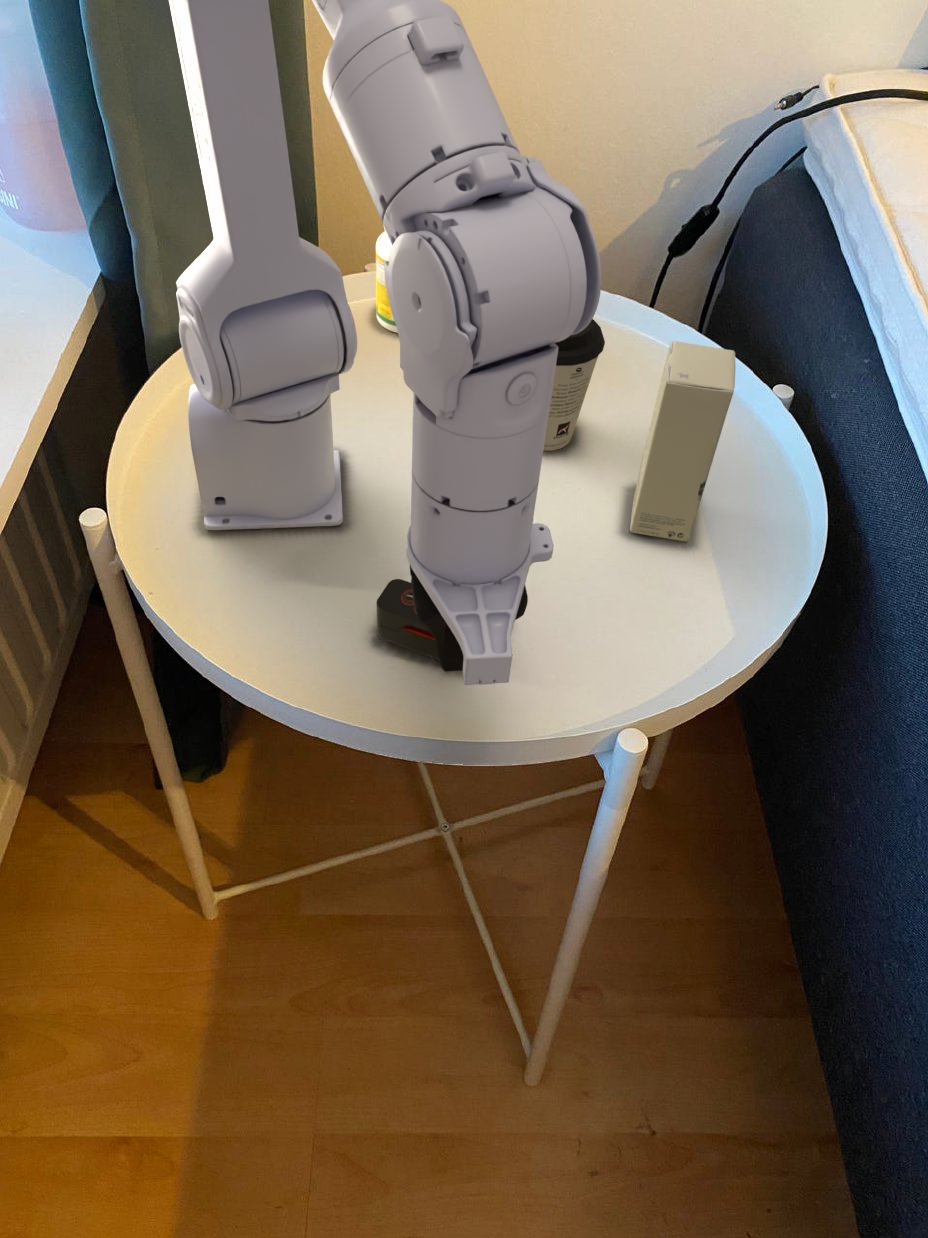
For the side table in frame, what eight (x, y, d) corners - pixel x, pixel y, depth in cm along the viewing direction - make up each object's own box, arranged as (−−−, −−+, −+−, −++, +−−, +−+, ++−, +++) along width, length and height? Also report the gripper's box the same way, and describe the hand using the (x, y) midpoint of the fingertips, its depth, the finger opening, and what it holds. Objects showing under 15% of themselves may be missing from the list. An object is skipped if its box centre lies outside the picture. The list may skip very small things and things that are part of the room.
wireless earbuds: (477, 678, 60) (481, 644, 58) (373, 640, 62) (372, 605, 59) (504, 627, 63) (509, 592, 60) (404, 591, 64) (405, 557, 62)
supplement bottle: (402, 342, 84) (404, 236, 76) (363, 315, 86) (361, 210, 79) (449, 321, 86) (454, 216, 79) (409, 296, 89) (411, 192, 81)
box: (688, 545, 69) (736, 394, 59) (627, 534, 69) (665, 382, 60) (692, 497, 72) (738, 347, 63) (633, 487, 73) (670, 336, 63)
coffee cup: (587, 464, 74) (609, 351, 67) (496, 456, 74) (508, 342, 67) (586, 409, 79) (607, 297, 71) (501, 401, 79) (512, 289, 71)
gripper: (596, 582, 39) (554, 767, 49) (537, 372, 48) (512, 563, 59) (421, 591, 38) (415, 777, 48) (395, 375, 48) (395, 569, 58)
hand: (460, 661), depth 53 cm, fingers closed
